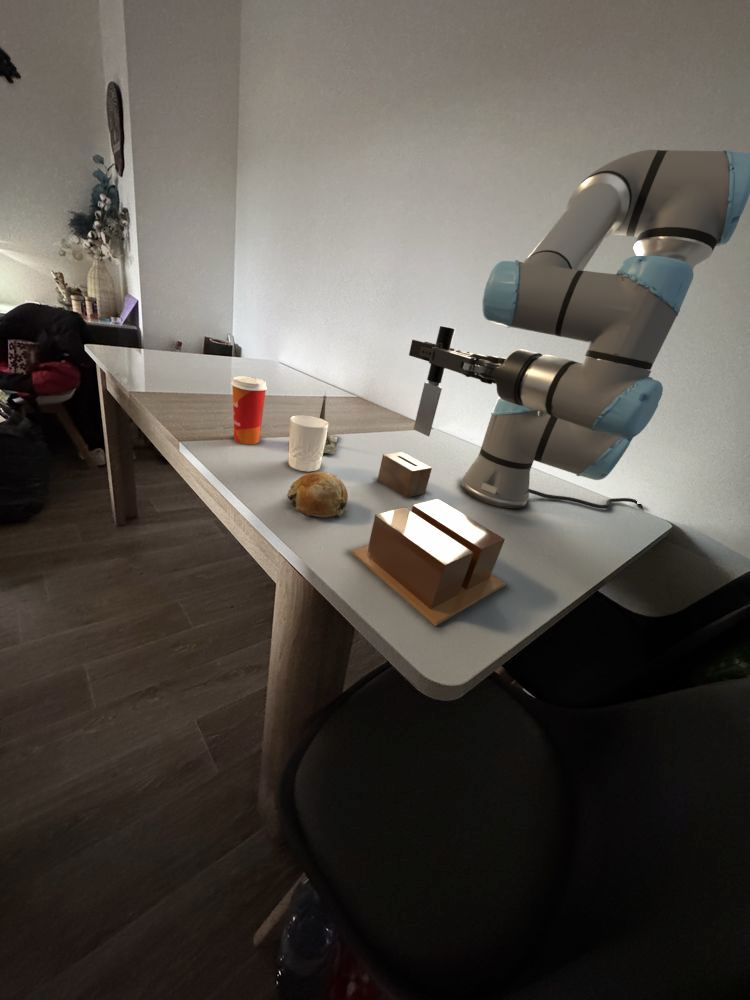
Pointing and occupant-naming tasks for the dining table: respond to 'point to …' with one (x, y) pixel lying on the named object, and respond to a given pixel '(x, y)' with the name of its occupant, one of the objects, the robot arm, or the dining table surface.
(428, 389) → the knife
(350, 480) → the dining table surface
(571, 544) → the dining table surface
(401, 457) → the knife block
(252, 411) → the paper cup
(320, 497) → the bread roll
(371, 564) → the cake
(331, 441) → the eiffel tower figurine
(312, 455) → the white cup
